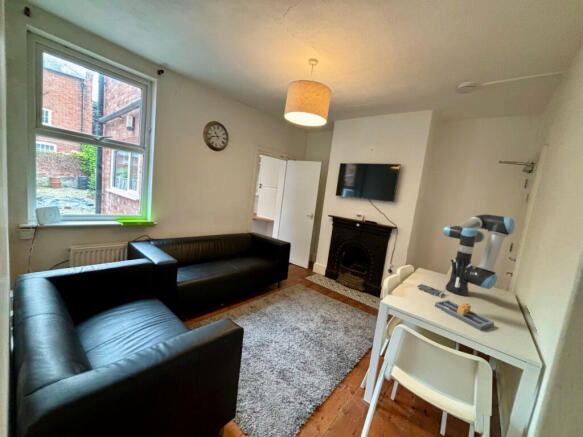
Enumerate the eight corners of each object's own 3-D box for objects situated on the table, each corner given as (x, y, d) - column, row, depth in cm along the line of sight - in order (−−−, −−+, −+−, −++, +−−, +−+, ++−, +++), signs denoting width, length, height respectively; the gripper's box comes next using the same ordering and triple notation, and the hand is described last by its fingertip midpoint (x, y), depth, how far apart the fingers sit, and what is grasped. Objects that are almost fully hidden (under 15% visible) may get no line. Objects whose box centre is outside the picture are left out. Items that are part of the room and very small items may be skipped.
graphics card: (446, 290, 173) (441, 293, 165) (445, 295, 173) (440, 298, 165) (422, 282, 185) (416, 284, 178) (421, 286, 186) (415, 289, 178)
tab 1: (460, 312, 141) (462, 304, 141) (466, 315, 138) (468, 307, 138) (456, 313, 140) (458, 305, 139) (462, 315, 137) (464, 308, 136)
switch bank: (447, 304, 156) (448, 299, 156) (493, 326, 133) (494, 321, 133) (434, 306, 150) (435, 302, 150) (480, 330, 127) (481, 325, 127)
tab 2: (463, 309, 146) (465, 301, 145) (469, 311, 143) (471, 304, 142) (460, 310, 144) (462, 302, 143) (465, 312, 141) (467, 305, 141)
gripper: (450, 249, 149) (443, 283, 153) (473, 255, 138) (464, 292, 141) (457, 248, 153) (450, 282, 156) (479, 255, 141) (471, 290, 144)
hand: (457, 286), depth 149 cm, fingers closed
